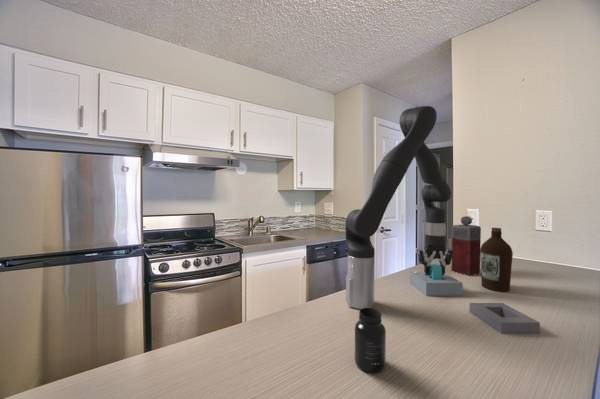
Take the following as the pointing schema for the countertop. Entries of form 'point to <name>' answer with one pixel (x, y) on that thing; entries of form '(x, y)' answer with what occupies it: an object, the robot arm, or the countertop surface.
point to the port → (436, 285)
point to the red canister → (466, 247)
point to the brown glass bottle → (496, 263)
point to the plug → (435, 272)
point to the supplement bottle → (370, 341)
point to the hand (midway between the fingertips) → (434, 274)
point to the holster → (504, 318)
